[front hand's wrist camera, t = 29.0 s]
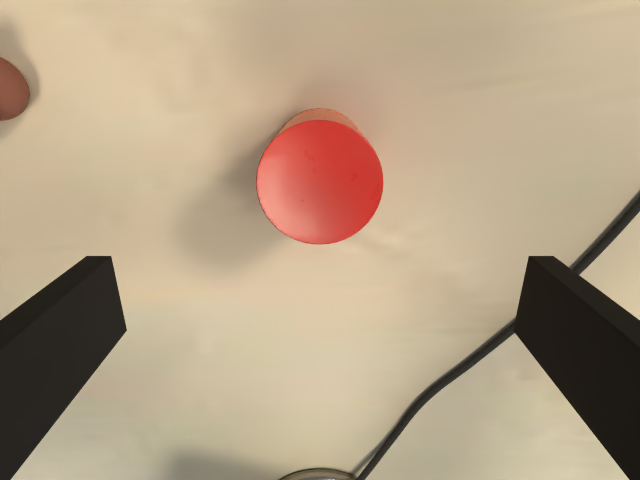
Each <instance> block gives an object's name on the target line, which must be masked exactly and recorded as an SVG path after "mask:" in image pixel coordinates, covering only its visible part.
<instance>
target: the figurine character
mask: <svg viewBox="0 0 640 480" xmlns="http://www.w3.org/2000/svg"><path fill="white" fill-rule="evenodd" d="M28 101H29V88H28V85H27V82H26V80H25V78H24V77H23V75H22V74H21V73H20V71H19V70H18V69H17V68H16V67H15V66H13V65H12V64H11V63H10V62H8V61H6V60H5V59H3V58H1V57H0V121H3V120H9V119H12V118H14V117H16V116H18V115H19V114H21V113H22V112H23V111H24V110H25V108H26V106H27V104H28Z"/></svg>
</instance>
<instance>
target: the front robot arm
mask: <svg viewBox="0 0 640 480" xmlns="http://www.w3.org/2000/svg"><path fill="white" fill-rule="evenodd" d="M639 211H640V197H639V198H638V200H637V201H636V202H635V203H634V204H633V205H632V207H631V208H630V209H629V210H628V211H627V212H626V213H625V214H624V216H623V217H622V218H621V219H620V220H619V221H618V222H617V223H616V225H615V226H614V227H613V228H612V229H611V230H610V231H609V232H608V233H607V234H606V235H605V237H604V238H603V239H602V240H601V241H600V242H599V243H598V244H597V245H596V246H595V247H594V248H593V249H592V250H591V251H590V252H589V253H588V254H587V255H586V256H585V257H584V258H583V259H582V260H581V261H580V262H579V263H578V264H577V265H576V266H575V267H574V268H573V269H572V270H571V269H570V268H569V267H567V266H566V265H565V264H563V263H562V262H561V261H559V260H558V259H557V258H555V257H554V256H529V258H528V263H527V267H526V272H525V277H524V282H523V286H522V291H521V296H520V301H519V305H518V310H517V315H516V320H515V322H514V323H513V324H512V325H511V326H509V327H508V328H507V329H506V330H505V331H503V332H502V333H501V334H500V335H499V336H497V337H496V338H495V339H494V340H492V341H491V342H490V343H489V344H487V345H486V346H485V347H484V348H482V349H481V350H480V351H479V352H477V353H476V354H475V355H474V356H473V357H471V358H470V359H469V360H467V361H466V362H465V363H464V364H462V365H461V366H460V367H458V368H457V369H456V370H454V371H453V372H451V373H450V374H449V375H447V376H446V377H445V378H443V379H442V380H441V381H439V382H438V383H437V384H436V385H434V386H433V387H432V388H431V389H430V390H428V391H427V392H426V393H425V394H424V395H423V396H422V397H421V398H420V399H419V400H418V401H417V402H416V403H415V404H414V405H413V407H412V408H411V409H410V410H409V411H408V412H407V414H406V415H405V416H404V418H403V419H402V420H401V422H400V423H399V424H398V426H397V427H396V429H395V430H394V431H393V433H392V434H391V435H390V436H389V438H388V439H387V440H386V442H385V443H384V444H383V445H382V447H381V448H380V449H379V451H378V452H377V453H376V455H375V456H374V457H373V459H372V460H371V461H370V462H369V464H368V465H367V466H366V468H365V469H364V470H363V471H362V473H361V474H360V475H359V476H358V478H356V477H354V476H352V475H349V474H347V473H344V472H340V471H336V470H328V469H313V470H305V471H301V472H297V473H294V474H292V475H289V476H287V477H285V478H283V479H282V480H365V479H366V477H367V476H368V475H369V474H370V472H371V471H372V470H373V469H374V467H375V466H376V465H377V463H378V462H379V461H380V460H381V458H382V457H383V456H384V454H385V453H386V452H387V450H388V449H389V448H390V446H391V445H392V444H393V443H394V441H395V440H396V439H397V438H398V436H399V435H400V434H401V432H402V431H403V430H404V428H405V427H406V426H407V424H408V423H409V422H410V420H411V419H412V418H413V417H414V415H415V414H416V413H417V412H418V411H419V410H420V409H421V408H422V406H423V405H424V404H425V403H426V402H427V401H429V400H430V399H431V398H432V397H433V396H434V395H435V394H436V393H438V392H439V391H440V390H441V389H443V388H444V387H445V386H446V385H448V384H449V383H451V382H452V381H453V380H455V379H456V378H457V377H459V376H460V375H462V374H463V373H464V372H466V371H467V370H468V369H470V368H471V367H472V366H474V365H475V364H476V363H477V362H479V361H480V360H481V359H482V358H484V357H485V356H486V355H487V354H489V353H490V352H491V351H493V350H494V349H495V348H496V347H498V346H499V345H500V344H501V343H503V342H504V341H505V340H506V339H508V338H509V337H510V336H511V335H512V334H514V333H516V335H517V336H518V337H519V338H520V340H521V341H522V342H523V344H524V345H525V346H526V347H527V349H528V350H529V351H530V353H531V354H532V355H533V356H534V358H535V359H536V360H537V362H538V363H539V364H540V365H541V367H542V368H543V369H544V371H545V372H546V373H547V374H548V376H549V377H550V378H551V379H552V381H553V382H554V383H555V385H556V386H557V387H558V388H559V390H560V391H561V392H562V394H563V395H564V396H565V397H566V399H567V400H568V401H569V403H570V404H571V405H572V406H573V408H574V409H575V410H576V412H577V413H578V414H579V415H580V417H581V418H582V419H583V421H584V422H585V423H586V424H587V426H588V427H589V428H590V430H591V431H592V432H593V433H594V435H595V436H596V437H597V439H598V440H599V441H600V442H601V444H602V445H603V446H604V448H605V449H606V450H607V451H608V453H609V454H610V455H611V457H612V458H613V459H614V460H615V462H616V463H617V464H618V466H619V467H620V468H621V469H622V471H623V472H624V473H625V474H626V476H627V477H628V478H629V480H640V320H638V319H637V318H636V317H634V316H633V315H632V314H630V313H629V312H628V311H626V310H625V309H624V308H622V307H621V306H620V305H618V304H617V303H616V302H614V301H613V300H612V299H610V298H609V297H608V296H606V295H605V294H603V293H602V292H601V291H599V290H598V289H597V288H595V287H594V286H593V285H591V284H590V283H589V282H587V281H586V280H585V279H583V278H582V277H581V276H579V275H580V274H581V273H582V272H583V271H584V270H585V269H586V268H587V267H588V266H589V265H590V264H591V263H592V262H593V261H594V260H595V259H596V258H597V257H598V256H599V255H600V254H601V253H602V252H603V251H604V250H605V248H606V247H607V246H608V245H609V244H610V243H611V242H612V241H613V240H614V239H615V238H616V237H617V236H618V235H619V234H620V233H621V231H622V230H623V229H624V228H625V227H626V226H627V225H628V224H629V223H630V222H631V220H632V219H633V218H634V217H635V216H636V215H637V214H638V213H639ZM126 331H127V329H126V324H125V320H124V315H123V310H122V305H121V301H120V296H119V291H118V286H117V282H116V277H115V272H114V267H113V263H112V258H111V256H86V257H85V258H83V259H82V260H81V261H79V262H78V263H77V264H75V265H74V266H73V267H71V268H70V269H69V270H67V271H66V272H65V273H63V274H62V275H61V276H59V277H58V278H57V279H55V280H54V281H53V282H51V283H50V284H49V285H47V286H46V287H45V288H43V289H42V290H41V291H39V292H38V293H37V294H35V295H34V296H32V297H31V298H30V299H28V300H27V301H26V302H24V303H23V304H22V305H20V306H19V307H18V308H16V309H15V310H14V311H12V312H11V313H10V314H8V315H7V316H6V317H4V318H3V319H2V320H0V480H11V478H12V477H13V476H14V474H15V473H16V472H17V471H18V469H19V468H20V467H21V465H22V464H23V463H24V462H25V460H26V459H27V458H28V457H29V455H30V454H31V453H32V451H33V450H34V449H35V448H36V446H37V445H38V444H39V442H40V441H41V440H42V439H43V437H44V436H45V435H46V433H47V432H48V431H49V430H50V428H51V427H52V426H53V424H54V423H55V422H56V421H57V419H58V418H59V417H60V415H61V414H62V413H63V412H64V410H65V409H66V408H67V406H68V405H69V404H70V403H71V401H72V400H73V399H74V397H75V396H76V395H77V394H78V392H79V391H80V390H81V388H82V387H83V386H84V385H85V383H86V382H87V381H88V379H89V378H90V377H91V376H92V374H93V373H94V372H95V371H96V369H97V368H98V367H99V365H100V364H101V363H102V362H103V360H104V359H105V358H106V356H107V355H108V354H109V353H110V351H111V350H112V349H113V347H114V346H115V345H116V344H117V342H118V341H119V340H120V338H121V337H122V336H123V335H124V333H125V332H126Z"/></svg>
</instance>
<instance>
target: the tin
mask: <svg viewBox="0 0 640 480" xmlns="http://www.w3.org/2000/svg"><path fill="white" fill-rule="evenodd" d="M256 188H257V194H258V198H259V202H260V204H261V207H262V209H263V211H264V213H265V214H266V216H267V218H268V219H269V220H270V221H271V223H272V224H273V225H274V226H275V227H276V228H277V229H279V230H280V231H281V232H283V233H284V234H285V235H287V236H289V237H291V238H293V239H295V240H298V241H301V242H304V243H310V244H330V243H335V242H339V241H341V240H344V239H346V238H348V237H351V236H352V235H354V234H355V233H357V232H358V231H360V230H361V229H362V228H363V227H364V226H365V225H366V224H367V223H368V222H369V221H370V219H371V218H372V217H373V215H374V213H375V212H376V210H377V208H378V205H379V203H380V200H381V196H382V191H383V174H382V168H381V165H380V161H379V159H378V157H377V154H376V152H375V151H374V149H373V148H372V146H371V145H370V143H369V142H368V141H367V140H366V138H365V137H364V136H363V135H362V134H361V132H360V131H359V130H358V129H357V127H356V126H355V125H354V124H353V123H352V122H351V121H350V120H349V119H348V118H347V117H345V116H344V115H342V114H340V113H338V112H335V111H332V110H328V109H311V110H307V111H304V112H302V113H299V114H298V115H296V116H294V117H293V118H292V119H290V120H289V121H288V122H287V123H286V124H285V126H284V127H283V128H282V129H281V130H280V132H279V133H278V134H277V135H276V137H275V138H274V139H273V140H272V141H271V143H270V144H269V145H268V147H267V148H266V150H265V151H264V153H263V155H262V157H261V160H260V162H259V166H258V170H257V177H256Z"/></svg>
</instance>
